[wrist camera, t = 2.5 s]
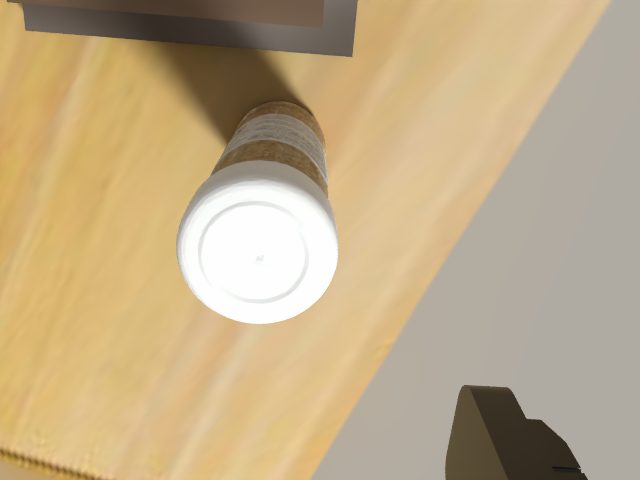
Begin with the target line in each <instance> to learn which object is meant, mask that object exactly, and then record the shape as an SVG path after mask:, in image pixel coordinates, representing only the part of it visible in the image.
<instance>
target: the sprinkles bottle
mask: <svg viewBox="0 0 640 480" xmlns="http://www.w3.org/2000/svg"><path fill="white" fill-rule="evenodd" d="M176 246H177V259H178V263H179V267H180V270H181V273H182V275H183V277H184V279H185V281H186V283H187V285H188V286H189V288H190V289H191V291H192V292H193V293H194V294H195V295H196V296H197V297H198V299H200V300H201V301H202V302H203V303H204V304H205V305H207V306H208V307H209V308H211V309H212V310H214V311H215V312H217V313H219V314H221V315H223V316H225V317H228V318H230V319H233V320H237V321H241V322H247V323H272V322H278V321H282V320H285V319H288V318H291V317H293V316H295V315H298V314H299V313H301V312H303V311H304V310H306V309H307V308H309V307H310V306H311V305H312V304H313V303H315V302H316V301H317V300H318V299H319V298H320V297H321V295H322V294H323V293H324V292H325V290H326V289H327V287H328V285H329V283H330V282H331V280H332V277H333V275H334V272H335V269H336V265H337V259H338V235H337V227H336V220H335V215H334V212H333V209H332V206H331V204H330V202H329V200H328V173H327V164H326V157H325V140H324V136H323V133H322V130H321V128H320V126H319V124H318V122H317V120H316V119H315V118H314V117H313V116H312V115H311V114H309V113H308V111H306V110H305V109H303V108H302V107H300V106H298V105H296V104H293V103H290V102H286V101H272V102H267V103H263V104H261V105H259V106H256V107H255V108H253V109H252V110H250V111H249V112H248V113H247V114H246V115H245V116H244V117H243V118H242V120H241V121H240V123H239V124H238V126H237V128H236V130H235V133H234V135H233V137H232V138H231V140H230V142H229V143H228V145H227V147H226V148H225V150H224V152H223V154H222V156H221V158H220V159H219V161H218V163H217V164H216V166H215V168H214V169H213V172H212V174H211V176H210V177H209V178H208V179H207V180H206V181H205V182H204V183H203V184H202V185H201V186H200V188H199V189H198V190H197V192H196V193H195V195H194V196H193V198H192V200H191V201H190V203H189V205H188V207H187V209H186V211H185V213H184V215H183V218H182V220H181V223H180V226H179V230H178V234H177V243H176Z"/></svg>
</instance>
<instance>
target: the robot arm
mask: <svg viewBox="0 0 640 480" xmlns="http://www.w3.org/2000/svg"><path fill="white" fill-rule="evenodd" d="M445 471H446V472H445V473H446V480H588V479H587V477H586V476H585V474H584V473H581V467H580V466H579V464H578V462H577V461H576V459H575V457H574V455H573V454H572V452H571V450H570V448H569V447H568V445H567V443H566V442H565V441H564V440H563V439H562V438H561V437H559V436H558V435H557V434H556V433H555V432H554V431H553V430H552V429H550V428H549V427H548V426H547V425H546V424H545V423H544V422H543V421H542V420H535V419H526V417H525V415H524V413H523V411H522V410H521V407H520V406H519V404H518V402H517V400H516V398H515V396H514V394H513V392H512V391H511V390H510V389H509V388H507V387H490V386H472V385H471V386H470V385H464V386H463V387H462V388H461V390H460V393H459V396H458V401H457V406H456V411H455V416H454V421H453V426H452V431H451V436H450V441H449V445H448V450H447V456H446V467H445Z"/></svg>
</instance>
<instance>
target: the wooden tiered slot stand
mask: <svg viewBox="0 0 640 480" xmlns="http://www.w3.org/2000/svg"><path fill="white" fill-rule="evenodd" d="M357 1H358V0H7V2H13V3H23V11H24V20H25V30H26V31H38V32H50V33H63V34H75V35H87V36H100V37H112V38H124V39H137V40H149V41H161V42H174V43H186V44H198V45H211V46H223V47H235V48H248V49H260V50H272V51H285V52H297V53H309V54H322V55H334V56H347V57H352V53H353V43H354V32H355V22H356V11H357Z"/></svg>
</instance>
